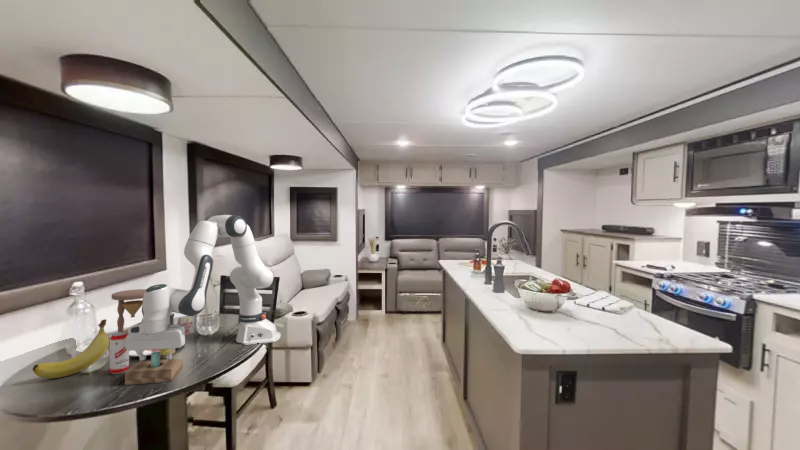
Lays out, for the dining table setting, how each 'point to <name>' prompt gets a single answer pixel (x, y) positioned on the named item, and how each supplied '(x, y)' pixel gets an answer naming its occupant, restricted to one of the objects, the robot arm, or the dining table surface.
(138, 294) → the hourglass
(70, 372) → the banana
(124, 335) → the beer can
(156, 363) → the peg
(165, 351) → the sauce bottle
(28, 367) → the dining table surface
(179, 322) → the white red printed box
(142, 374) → the socket block
